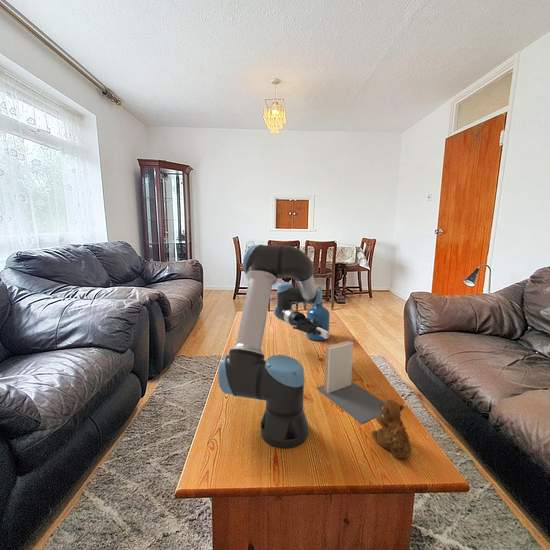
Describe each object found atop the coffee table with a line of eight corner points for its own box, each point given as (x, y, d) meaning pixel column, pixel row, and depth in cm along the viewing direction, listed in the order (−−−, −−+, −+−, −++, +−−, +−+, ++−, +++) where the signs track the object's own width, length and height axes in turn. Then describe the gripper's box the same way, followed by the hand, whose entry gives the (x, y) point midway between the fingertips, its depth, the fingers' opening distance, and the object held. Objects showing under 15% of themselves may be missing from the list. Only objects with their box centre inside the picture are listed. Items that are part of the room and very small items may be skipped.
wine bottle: (331, 341, 162) (333, 288, 157) (308, 341, 161) (309, 289, 156) (326, 332, 175) (327, 283, 170) (304, 332, 175) (305, 283, 169)
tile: (323, 389, 114) (325, 346, 111) (346, 381, 120) (348, 340, 117) (328, 393, 112) (329, 349, 109) (351, 384, 118) (353, 342, 114)
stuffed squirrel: (400, 430, 92) (403, 392, 90) (422, 466, 78) (426, 423, 76) (369, 430, 92) (371, 392, 90) (385, 466, 79) (388, 422, 76)
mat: (315, 388, 115) (315, 387, 115) (345, 378, 123) (345, 377, 123) (360, 424, 95) (360, 423, 95) (393, 409, 103) (393, 408, 103)
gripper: (306, 323, 143) (338, 340, 123) (283, 328, 137) (314, 347, 117) (306, 309, 142) (339, 323, 122) (283, 313, 135) (314, 329, 115)
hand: (327, 335), depth 119 cm, fingers closed
